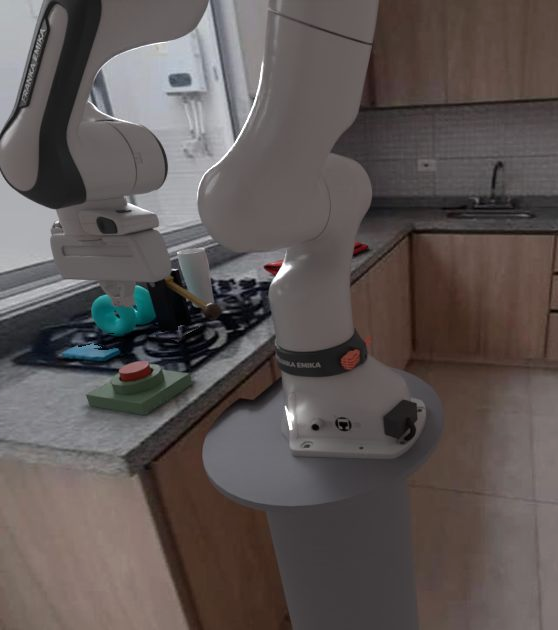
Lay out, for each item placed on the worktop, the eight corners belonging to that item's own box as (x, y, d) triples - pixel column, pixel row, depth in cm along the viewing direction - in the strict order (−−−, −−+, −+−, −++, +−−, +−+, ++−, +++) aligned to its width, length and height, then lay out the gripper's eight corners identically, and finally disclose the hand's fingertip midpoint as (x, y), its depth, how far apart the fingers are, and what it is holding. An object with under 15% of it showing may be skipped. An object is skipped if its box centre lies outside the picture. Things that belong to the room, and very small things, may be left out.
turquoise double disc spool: (96, 338, 101) (82, 297, 97) (128, 321, 110) (116, 283, 106) (135, 338, 99) (122, 297, 96) (165, 322, 109) (154, 283, 105)
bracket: (206, 328, 103) (192, 267, 98) (176, 344, 95) (158, 278, 90) (179, 325, 106) (163, 265, 100) (148, 341, 98) (129, 277, 92)
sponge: (92, 362, 87) (120, 347, 91) (58, 353, 92) (87, 339, 96) (95, 368, 87) (123, 353, 92) (62, 359, 92) (90, 345, 97)
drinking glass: (213, 308, 116) (200, 252, 111) (186, 310, 116) (172, 254, 110) (220, 300, 123) (208, 247, 117) (195, 302, 122) (182, 248, 116)
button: (157, 371, 76) (155, 362, 75) (135, 384, 72) (132, 374, 71) (138, 368, 77) (135, 359, 76) (115, 381, 73) (112, 371, 73)
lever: (222, 318, 97) (226, 306, 96) (211, 325, 94) (215, 312, 92) (163, 280, 98) (166, 267, 97) (150, 285, 95) (152, 272, 93)
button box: (192, 383, 78) (187, 363, 77) (145, 415, 70) (137, 393, 68) (141, 376, 82) (135, 357, 81) (89, 406, 73) (81, 384, 72)
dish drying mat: (369, 249, 173) (369, 240, 172) (300, 278, 139) (298, 267, 138) (337, 247, 180) (336, 238, 178) (263, 274, 146) (261, 263, 144)
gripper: (26, 224, 66) (59, 309, 71) (129, 222, 60) (157, 316, 65) (68, 217, 72) (96, 297, 77) (166, 215, 66) (189, 301, 71)
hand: (124, 305), depth 71 cm, fingers closed
